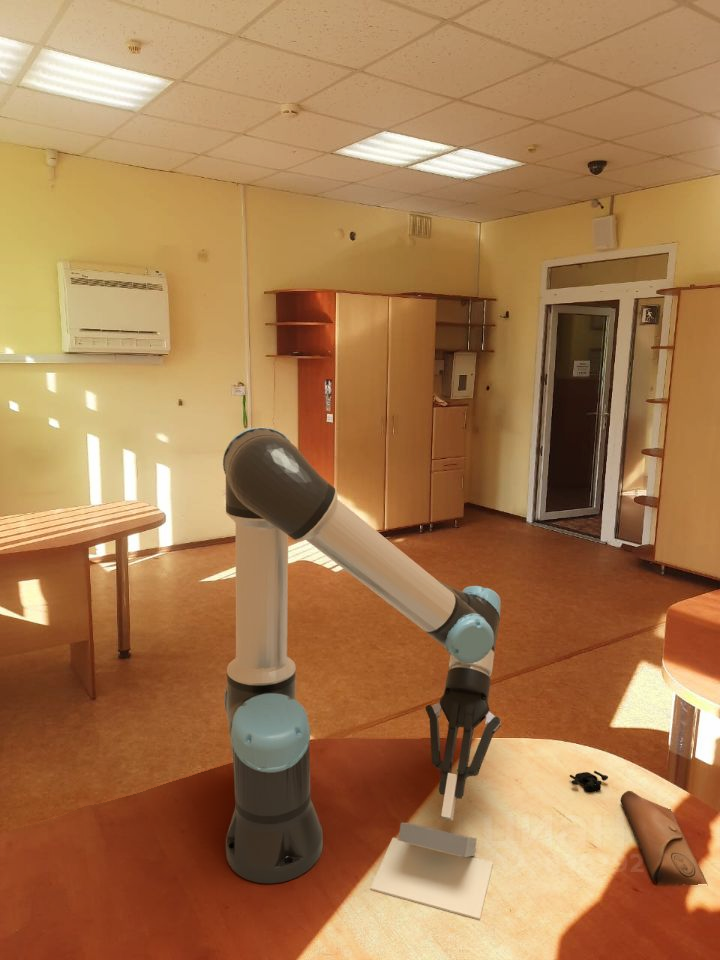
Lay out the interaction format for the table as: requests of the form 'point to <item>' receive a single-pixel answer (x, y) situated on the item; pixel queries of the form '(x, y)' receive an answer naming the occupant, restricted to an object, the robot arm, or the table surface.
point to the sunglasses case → (661, 842)
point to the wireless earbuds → (589, 781)
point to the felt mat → (434, 878)
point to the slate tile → (437, 840)
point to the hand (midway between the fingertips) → (447, 818)
